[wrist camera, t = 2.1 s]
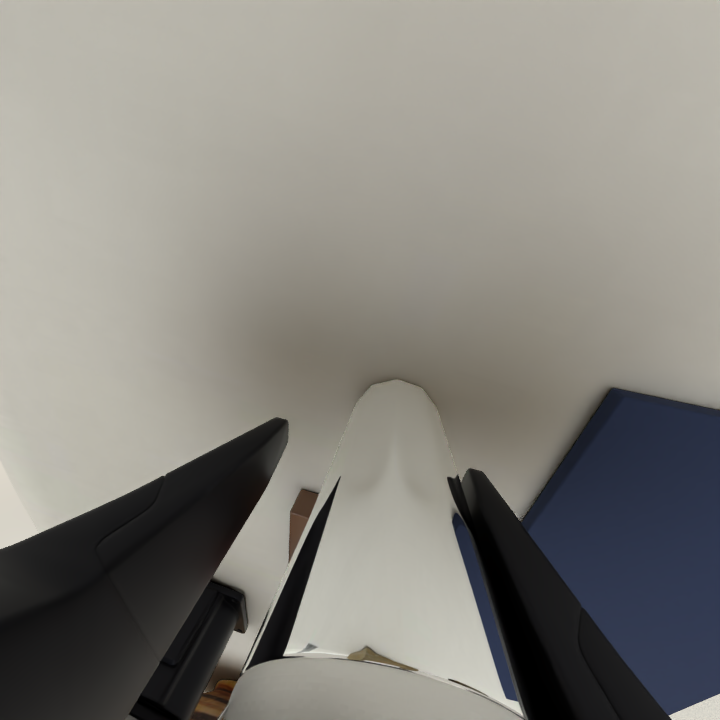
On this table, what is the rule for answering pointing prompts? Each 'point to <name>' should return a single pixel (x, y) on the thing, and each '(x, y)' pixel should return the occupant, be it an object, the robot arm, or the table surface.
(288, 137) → the table surface
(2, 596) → the robot arm
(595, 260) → the table surface
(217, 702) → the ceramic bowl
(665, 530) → the pad
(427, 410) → the milkshake
